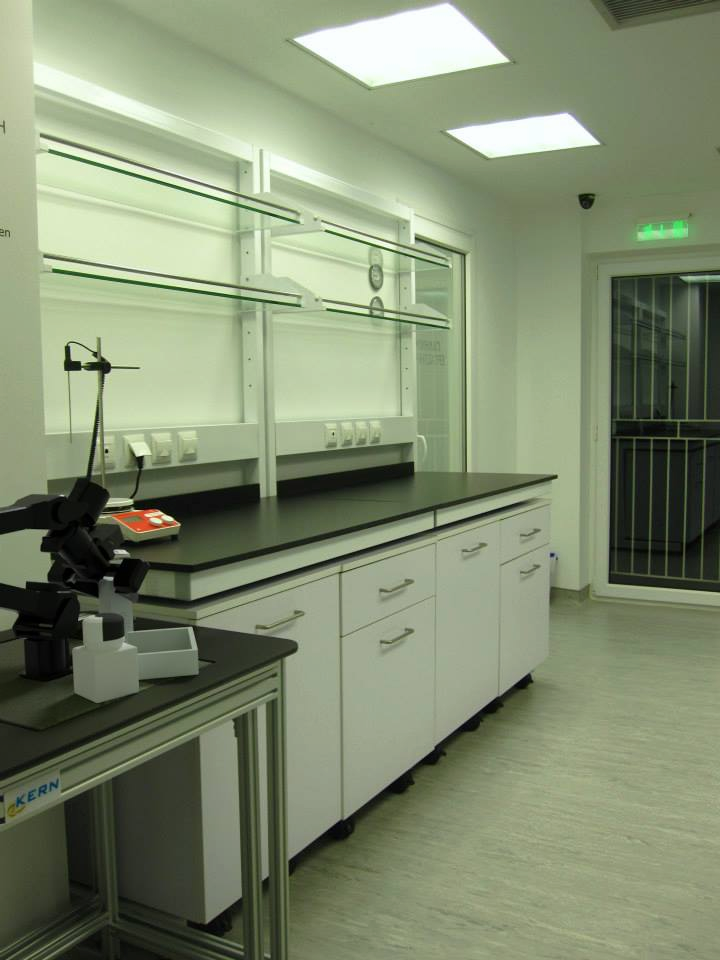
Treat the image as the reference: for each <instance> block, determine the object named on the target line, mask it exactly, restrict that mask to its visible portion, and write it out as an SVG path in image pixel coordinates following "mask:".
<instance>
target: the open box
mask: <svg viewBox="0 0 720 960" xmlns="http://www.w3.org/2000/svg"><path fill="white" fill-rule="evenodd" d="M128 644H130V645H132V646H135V647H137V657H138V681H139V680H141V681H142V680H150V679H162V678H163V679H164V678H171V677H172V678H174V677H184V676H185V677H186V676H195V675H199V672H200V671H199V655H198V654H199V649H198V645H197V641H196V638H195V633H194V630H193V627H192V626H186V627H173V628H172V627H171V628H159V629H148V630H147V629H146V630H136V631H135V630H133V631H132V632H128Z"/></svg>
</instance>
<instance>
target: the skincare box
mask: <svg viewBox="0 0 720 960" xmlns="http://www.w3.org/2000/svg"><path fill="white" fill-rule="evenodd" d="M113 578H114V577H104V578H103V579H102V580H101V581H99V583H98V592H99V599H98V613H99V612H100V613H116V614H119V615H121V616H122V617H123V618H124V629H125V641H124V643H127V644H128V632H132V631H134V617H133V601H130V600H128V599H126V598H124V597H122V596H120V595H118V594H116V593H114V592H115V590H116V588H115V587H114V586H113Z"/></svg>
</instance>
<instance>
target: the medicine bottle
mask: <svg viewBox="0 0 720 960" xmlns="http://www.w3.org/2000/svg"><path fill="white" fill-rule="evenodd" d="M82 638H83V639H82V640H83V641H82V642H83V645H79V646H76V647H73V648H72V651H71V652H72V667H73V671H72V672H73V674H72V675H73V688H74V690H73V692H74V694H76V695H78V696H80V697H83V698H85V699H86V700H89V701H91V702H93V703H96V704H99V703H104V702H108V701H112V700H115V699H118V698H122V697H126V696H129V695H133V694H138V693H139V691H140V687H139V686H140V683H139V680H138V657H137V647H135V646H132V645H130V644H127V643H124V641H125V629H124V618H123V617H122V616H121V615H119V614H116V613H99V612H98V613H95V614H93V613H92V614H91V615H89V616H87V617H85V618H84V619H83V620H82Z"/></svg>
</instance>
